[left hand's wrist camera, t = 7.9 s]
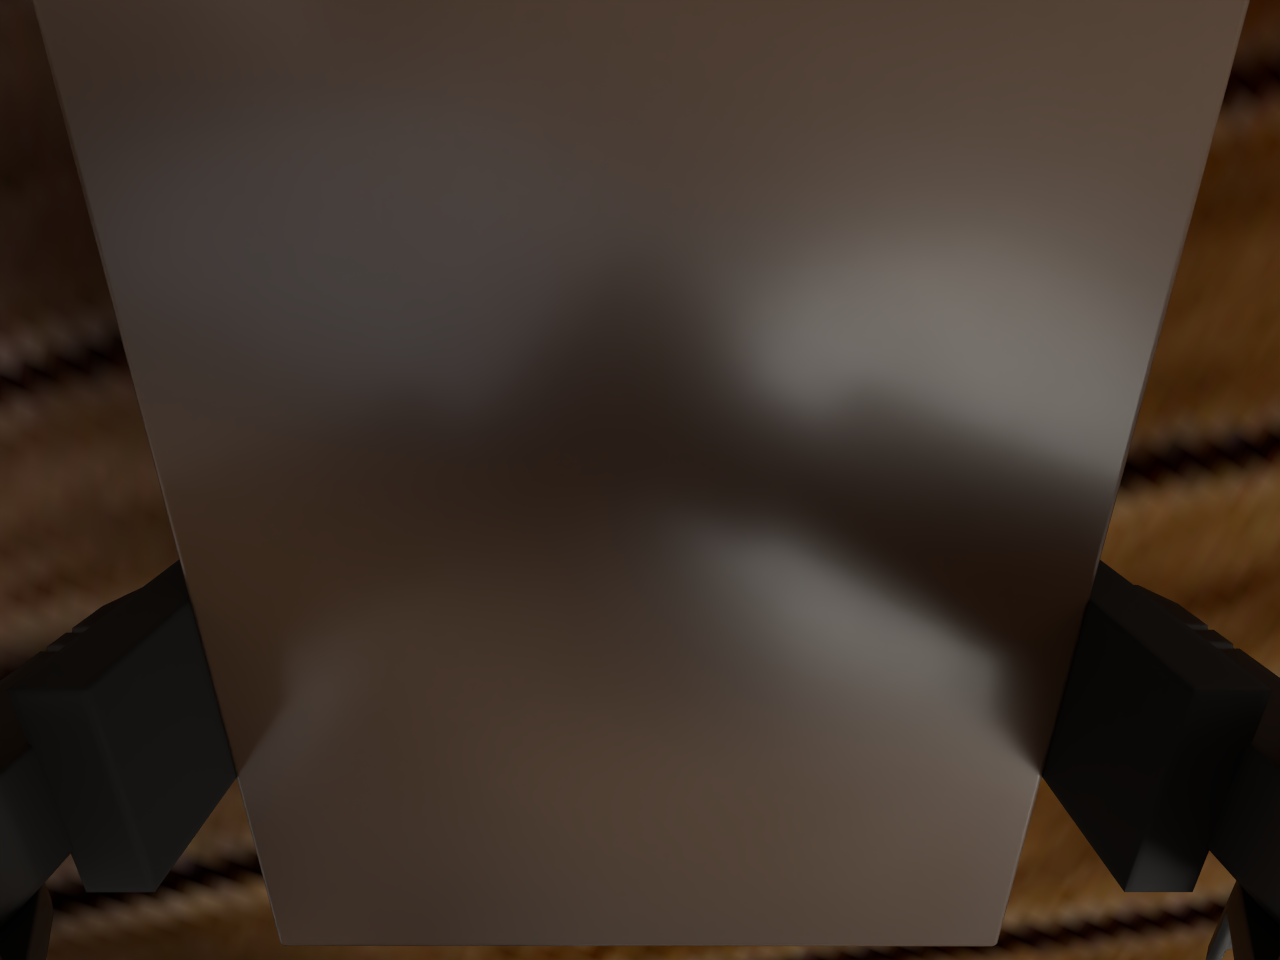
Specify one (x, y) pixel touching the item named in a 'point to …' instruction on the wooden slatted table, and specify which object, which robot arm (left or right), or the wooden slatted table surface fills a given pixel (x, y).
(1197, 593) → the wooden slatted table surface
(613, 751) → the cabinet
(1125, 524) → the wooden slatted table surface
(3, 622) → the wooden slatted table surface
